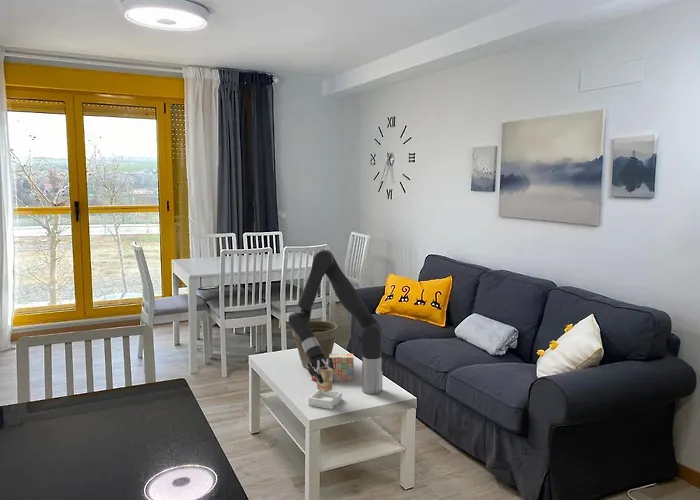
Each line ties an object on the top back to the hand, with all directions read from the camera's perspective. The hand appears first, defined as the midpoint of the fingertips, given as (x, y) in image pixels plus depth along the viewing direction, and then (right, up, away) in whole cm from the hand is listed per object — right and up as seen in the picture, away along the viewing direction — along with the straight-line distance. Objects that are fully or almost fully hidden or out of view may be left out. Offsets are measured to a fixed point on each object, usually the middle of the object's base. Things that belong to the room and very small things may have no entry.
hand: (327, 381), depth 251 cm
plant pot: (-9, -3, +53) cm, 54 cm away
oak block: (-1, -4, +2) cm, 5 cm away
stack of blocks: (+1, -6, +33) cm, 33 cm away
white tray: (-1, -10, +3) cm, 11 cm away
